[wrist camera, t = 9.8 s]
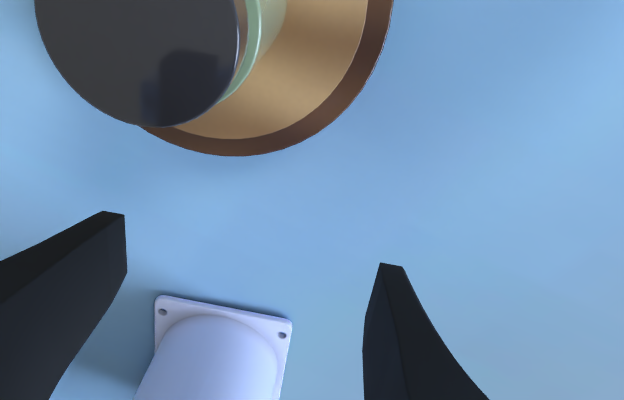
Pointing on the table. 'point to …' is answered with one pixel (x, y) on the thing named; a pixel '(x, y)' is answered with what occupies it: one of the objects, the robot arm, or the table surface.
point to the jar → (157, 52)
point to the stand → (294, 81)
